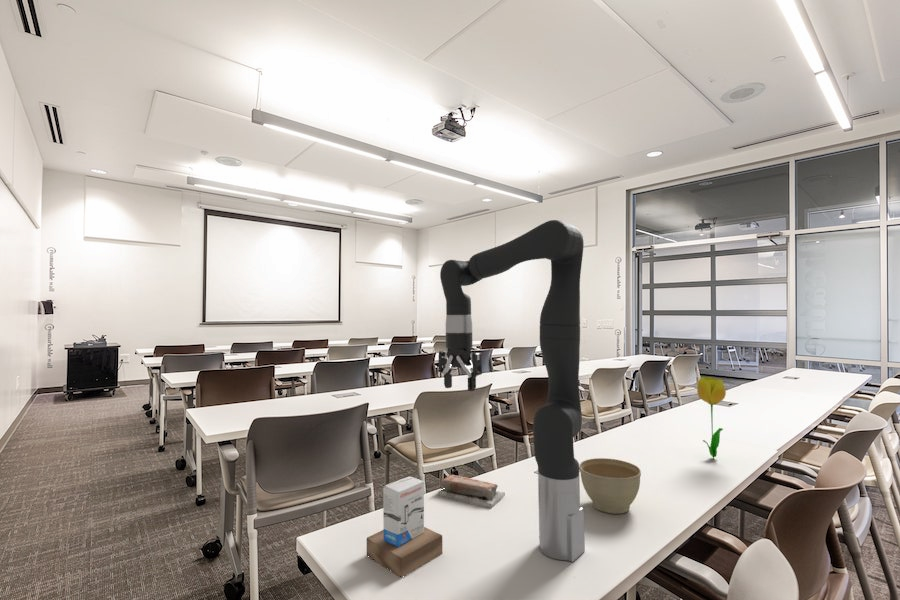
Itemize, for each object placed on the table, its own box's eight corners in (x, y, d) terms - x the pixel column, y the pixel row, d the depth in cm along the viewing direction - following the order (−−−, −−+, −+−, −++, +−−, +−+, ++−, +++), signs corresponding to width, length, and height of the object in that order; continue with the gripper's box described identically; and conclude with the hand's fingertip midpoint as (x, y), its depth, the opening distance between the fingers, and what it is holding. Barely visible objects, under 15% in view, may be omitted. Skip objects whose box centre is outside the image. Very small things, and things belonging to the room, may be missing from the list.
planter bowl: (612, 491, 128) (611, 454, 128) (655, 514, 113) (654, 472, 113) (568, 500, 122) (567, 462, 122) (608, 525, 107) (606, 481, 107)
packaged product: (436, 481, 126) (452, 470, 135) (436, 497, 126) (452, 485, 134) (491, 492, 117) (505, 480, 126) (492, 510, 117) (505, 497, 126)
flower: (705, 461, 152) (702, 378, 154) (696, 454, 160) (693, 375, 162) (731, 463, 151) (728, 378, 152) (721, 455, 159) (718, 375, 160)
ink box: (397, 548, 90) (397, 492, 90) (382, 540, 93) (382, 486, 94) (425, 532, 96) (425, 480, 97) (410, 525, 100) (409, 475, 100)
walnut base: (442, 553, 95) (442, 535, 95) (401, 578, 86) (401, 558, 86) (406, 535, 103) (406, 518, 103) (366, 556, 94) (366, 537, 94)
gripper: (487, 331, 116) (488, 390, 116) (449, 330, 126) (449, 385, 125) (469, 332, 111) (470, 394, 110) (431, 331, 120) (432, 388, 120)
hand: (459, 389), depth 118 cm, fingers open, 8 cm apart
